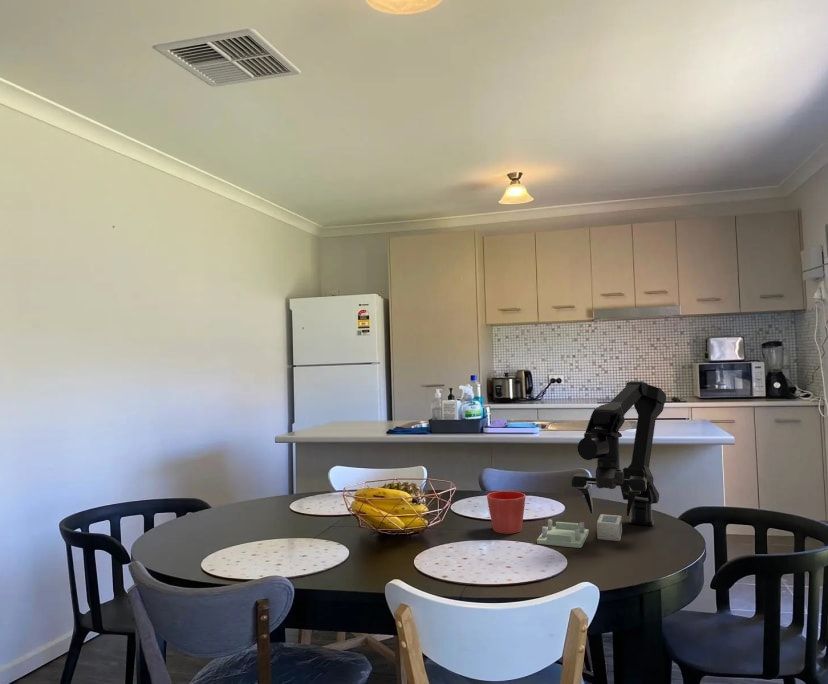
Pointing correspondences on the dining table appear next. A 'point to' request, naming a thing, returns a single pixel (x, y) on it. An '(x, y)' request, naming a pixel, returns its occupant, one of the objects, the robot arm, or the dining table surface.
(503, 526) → the flower pot
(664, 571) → the dining table surface
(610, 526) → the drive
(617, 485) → the robot arm
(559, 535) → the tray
